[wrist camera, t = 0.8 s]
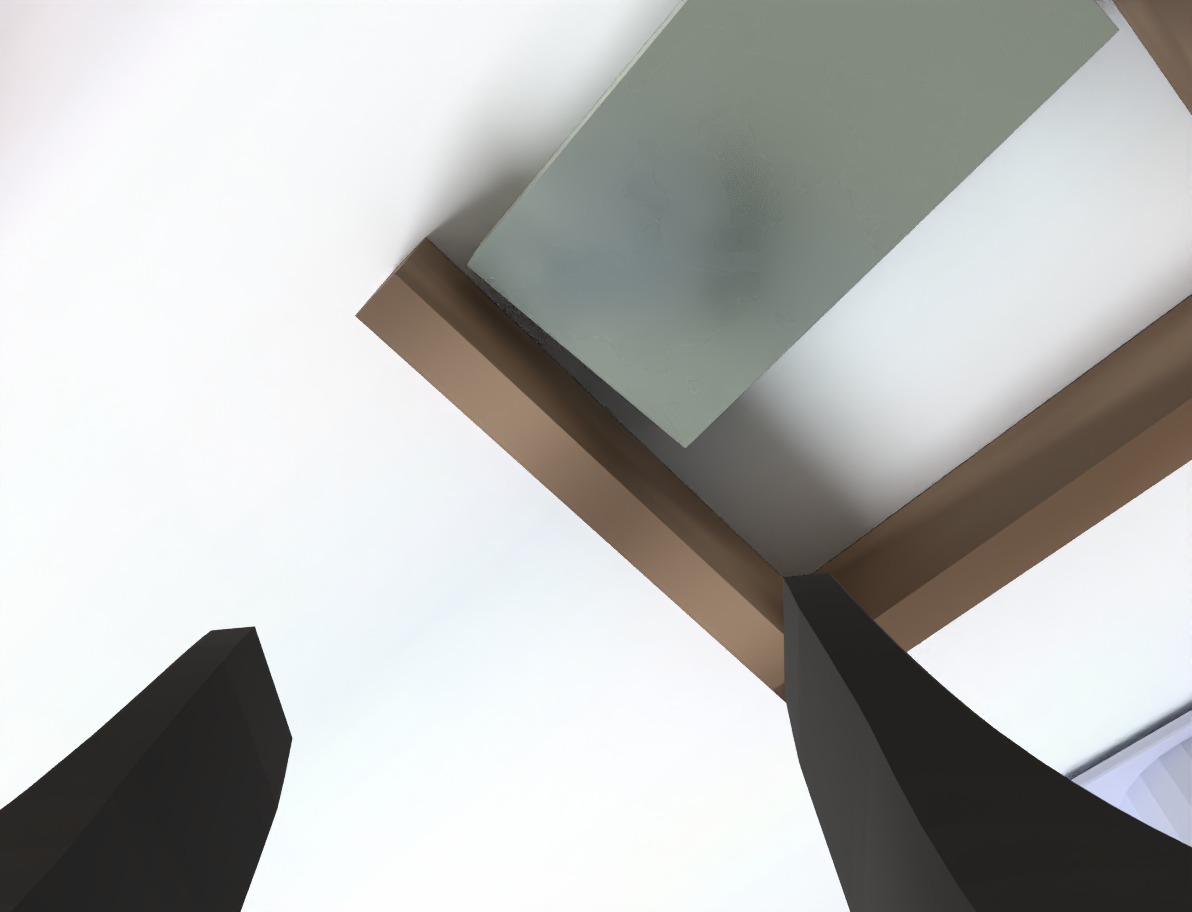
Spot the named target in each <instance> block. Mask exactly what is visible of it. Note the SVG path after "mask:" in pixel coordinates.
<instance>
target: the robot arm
mask: <svg viewBox="0 0 1192 912" xmlns="http://www.w3.org/2000/svg"><path fill="white" fill-rule="evenodd" d="M783 612H784V685H785V699H786V703H787V708H788V713H789V718H790V723H791V727H792V732H793V737H794V741H795V746H796V750H797V755H798V759H799V763H800V766H801V769H802V772H803V775H804V778H805V781H806V784H807V787H808V790H809V793H810V796H811V799H812V802H813V805H814V808H815V811H816V814H817V817H818V819H819V822H820V825H821V828H822V831H823V834H824V837H825V840H826V843H827V845H828V848H829V851H830V854H831V857H832V860H833V863H834V866H835V869H836V872H837V874H838V877H839V880H840V883H841V886H842V889H843V892H844V895H845V898H846V900H847V903H848V906H849V909H850V912H1192V710H1191V711H1189V712H1187V713H1185V714H1184V715H1182V716H1180V717H1179V718H1177V719H1175V720H1173V721H1172V722H1170V723H1168V724H1167V725H1165V726H1163V727H1161V728H1160V729H1158V730H1156V731H1154V732H1153V733H1151V734H1149V735H1148V736H1146V737H1144V738H1142V739H1141V740H1139V741H1137V742H1136V743H1134V744H1132V745H1130V746H1129V747H1127V748H1125V749H1123V750H1122V751H1120V752H1118V753H1117V754H1115V755H1113V756H1111V757H1110V758H1108V759H1106V760H1105V761H1103V762H1101V763H1099V764H1098V765H1096V766H1094V767H1093V768H1091V769H1089V770H1087V771H1086V772H1084V773H1082V774H1080V775H1079V776H1077V777H1075V778H1074V779H1072V780H1069V779H1068V778H1066V777H1065V776H1063V775H1061V774H1060V773H1058V772H1057V771H1055V770H1054V769H1052V768H1051V767H1049V766H1048V765H1046V764H1044V763H1043V762H1041V761H1040V760H1038V759H1037V758H1035V757H1034V756H1033V755H1031V754H1030V753H1028V752H1027V751H1026V750H1024V749H1023V748H1021V747H1020V746H1019V745H1017V744H1016V743H1014V742H1013V741H1011V740H1010V739H1009V738H1007V737H1006V736H1004V735H1003V734H1002V733H1000V732H999V731H997V730H996V729H995V728H993V727H992V726H991V725H990V724H988V723H987V722H986V721H985V720H983V719H982V718H981V717H979V716H978V715H977V714H976V713H974V712H973V711H972V710H971V709H970V708H968V707H967V706H966V705H965V704H964V703H963V702H961V701H960V700H959V699H958V698H957V697H955V696H954V695H953V694H952V693H951V692H949V691H948V690H947V689H946V688H945V687H944V686H943V685H941V684H940V683H939V682H938V681H937V680H936V679H935V678H933V677H932V676H931V675H930V674H929V673H928V672H927V671H926V670H925V669H924V668H923V667H922V666H921V665H919V664H918V663H917V662H916V661H915V660H914V659H913V658H912V657H911V656H910V655H909V654H908V653H907V652H906V651H905V650H903V649H902V648H901V647H900V646H899V645H898V644H897V643H896V642H895V641H894V640H893V639H892V638H891V637H890V636H889V635H888V634H887V633H886V632H885V631H884V630H883V629H882V628H881V627H880V626H879V625H878V624H877V623H876V622H875V621H874V619H873V618H872V617H871V616H870V615H869V614H868V613H867V612H866V611H865V610H864V609H863V608H862V607H861V606H860V605H859V604H858V603H857V601H856V600H855V599H854V598H853V597H852V596H851V595H850V594H849V593H848V592H847V591H846V589H845V588H844V587H843V586H842V585H841V584H840V583H839V582H838V581H837V580H836V579H835V578H834V577H833V576H832V575H831V574H829V573H824V574H813V575H803V576H792V577H783ZM291 743H292V736H291V733H290V730H289V727H288V724H287V721H286V718H285V715H284V712H283V709H282V706H281V703H280V700H279V697H278V694H277V691H276V688H275V685H274V682H273V679H272V676H271V673H270V670H269V667H268V664H267V662H266V659H265V656H264V653H263V650H262V647H261V644H260V641H259V638H258V635H257V632H256V629H255V626H254V627H244V628H233V629H222V630H211V631H210V632H209V633H207V634H206V635H205V636H204V637H202V638H201V639H200V640H199V641H198V642H196V643H195V644H194V645H193V646H192V647H191V648H189V649H188V650H187V651H186V652H185V653H184V654H183V655H181V656H180V657H179V658H178V659H177V660H176V661H175V662H174V663H172V664H171V665H170V666H169V667H168V668H167V669H166V670H165V671H164V672H163V673H161V674H160V675H159V676H158V677H157V678H156V679H155V680H154V681H153V682H152V683H150V684H149V685H148V686H147V687H146V688H145V689H144V690H143V691H142V692H140V693H139V694H138V695H137V696H136V697H135V698H134V699H133V700H132V701H130V702H129V703H128V704H127V705H126V706H125V707H124V708H123V709H121V710H120V711H119V712H118V713H117V714H116V715H115V716H114V717H112V718H111V719H110V720H109V721H108V722H107V723H106V724H105V725H104V726H102V727H101V728H100V729H99V730H98V731H97V732H96V733H94V734H93V735H92V736H91V737H90V738H89V739H87V740H86V741H85V742H84V743H82V744H81V745H80V746H79V747H78V748H76V749H75V750H74V751H73V752H72V753H70V754H69V755H68V756H67V757H66V758H64V759H63V760H62V761H61V762H60V763H58V764H57V765H56V766H55V767H54V768H52V769H51V770H50V771H49V772H48V773H46V774H45V775H44V776H43V777H41V778H40V779H39V780H38V781H37V782H35V783H34V784H33V785H32V786H31V787H29V788H28V789H27V790H26V791H24V792H23V793H22V794H20V795H19V796H18V797H17V798H15V799H14V800H13V801H11V802H10V803H9V804H7V805H6V806H5V807H3V808H2V809H1V810H0V912H241V909H242V906H243V903H244V901H245V898H246V895H247V892H248V890H249V887H250V884H251V881H252V879H253V876H254V873H255V870H256V868H257V865H258V862H259V859H260V857H261V854H262V851H263V848H264V845H265V842H266V840H267V837H268V834H269V831H270V828H271V826H272V823H273V820H274V817H275V814H276V811H277V808H278V804H279V800H280V795H281V791H282V787H283V782H284V778H285V773H286V768H287V763H288V758H289V753H290V748H291Z"/></svg>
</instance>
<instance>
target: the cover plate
mask: <svg viewBox="0 0 1192 912" xmlns="http://www.w3.org/2000/svg"><path fill="white" fill-rule="evenodd" d="M1118 31H1119V29H1118V28H1117V26H1116V25H1115V24H1114V23H1113V22H1112V20H1111V19H1110V18H1109V17H1108V16H1107V15H1106V13H1105V12H1104V11H1103V10H1102V9H1101V7H1100V6H1099V5H1098V4H1097V3H1096V1H1095V0H681V2H680V3H679V4H678V5H677V6H676V8H675V9H674V10H673V11H672V12H671V14H670V15H669V16H668V17H667V18H666V20H665V21H664V22H663V23H662V24H661V26H660V27H659V28H658V29H657V30H656V32H655V33H654V34H653V35H652V36H651V38H650V39H649V40H648V41H647V42H646V44H645V45H644V46H643V47H642V49H641V50H640V51H639V52H638V53H637V55H636V56H635V57H634V58H633V59H632V61H631V62H630V63H629V64H628V65H627V67H626V68H625V69H624V70H623V71H622V73H621V74H620V75H619V76H618V77H617V79H616V80H615V81H614V82H613V83H612V85H611V86H610V87H609V88H608V89H607V91H606V92H605V93H604V94H603V95H602V97H601V98H600V99H599V100H598V102H597V103H596V104H595V105H594V106H593V108H592V109H591V110H590V111H589V112H588V114H587V115H586V116H585V117H584V118H583V120H582V121H581V122H580V123H579V124H578V126H577V127H576V128H575V129H574V130H573V132H572V133H571V134H570V135H569V136H568V138H567V139H566V140H565V141H564V142H563V144H562V145H561V146H560V147H559V148H558V150H557V151H556V152H555V153H554V155H553V156H552V157H551V158H550V159H549V161H548V162H547V163H546V164H545V165H544V167H543V168H542V169H541V170H540V171H539V173H538V174H537V175H536V176H535V177H534V179H533V180H532V181H531V182H530V183H529V185H528V186H527V187H526V188H525V189H524V191H523V192H522V193H521V194H520V195H519V197H518V198H517V199H516V200H515V201H514V203H513V204H512V205H511V206H510V208H509V209H508V210H507V211H506V212H505V214H504V215H503V216H502V217H501V218H500V220H499V221H498V222H497V223H496V224H495V226H494V227H493V228H492V229H491V230H490V232H489V233H488V234H487V235H486V236H485V238H484V239H483V240H482V241H481V243H480V244H479V246H478V248H477V249H476V251H475V253H474V254H473V256H472V257H471V259H470V261H469V262H468V264H467V265H466V266H468V267H469V268H470V269H471V270H472V271H474V272H475V273H476V274H477V275H478V276H480V277H481V278H482V279H483V280H484V281H485V282H487V283H488V284H489V285H490V286H491V287H493V288H494V289H495V290H496V291H497V292H499V293H500V294H501V295H502V296H503V297H505V298H506V299H507V300H508V301H509V302H511V303H512V304H513V305H514V306H515V307H517V308H518V309H519V310H520V311H521V312H523V313H524V314H525V315H526V316H527V317H528V318H530V319H531V320H532V321H533V322H534V323H536V324H537V325H538V326H539V327H540V328H542V329H543V330H544V331H545V332H546V333H548V334H549V335H550V336H551V337H552V338H554V339H555V340H556V341H557V342H558V343H560V344H561V345H562V346H563V347H564V348H566V349H567V350H568V351H569V352H570V353H572V354H573V355H574V356H575V357H576V358H577V359H579V360H580V361H581V362H582V363H583V364H585V365H586V366H587V367H588V368H589V369H591V370H592V371H593V372H594V373H595V374H597V375H598V376H599V377H600V378H601V379H603V380H604V381H605V382H606V383H607V384H609V385H610V386H611V387H612V388H613V389H615V390H616V391H617V392H618V393H619V394H621V395H622V396H623V397H624V398H625V399H626V400H628V401H629V402H630V403H631V404H632V405H634V406H635V407H636V408H637V409H638V410H640V411H641V412H642V413H643V414H644V415H646V416H647V417H648V418H649V419H650V420H652V421H653V422H654V423H655V424H656V425H658V426H659V427H660V428H661V429H662V430H664V431H665V432H666V433H667V434H668V435H669V436H671V437H672V438H673V439H674V440H675V441H677V442H678V443H679V444H680V445H681V446H683V447H684V448H687V447H688V446H689V445H690V444H691V443H692V442H693V441H694V440H695V439H696V438H697V437H698V436H699V435H700V434H701V433H702V432H703V431H704V430H705V429H706V428H707V427H708V426H709V425H710V424H711V423H712V422H713V421H714V420H716V419H717V418H718V417H719V416H720V415H721V414H722V413H723V412H724V411H725V410H726V409H727V408H728V407H729V406H730V405H731V404H732V403H733V402H734V401H735V400H736V399H737V398H738V397H739V396H740V395H741V394H742V393H744V392H745V391H746V390H747V389H748V388H749V387H750V386H751V385H752V384H753V383H754V382H755V381H756V380H757V379H758V378H759V377H760V376H761V375H762V374H763V373H764V372H765V371H766V370H767V369H768V368H769V367H770V366H772V365H773V364H774V363H775V362H776V361H777V360H778V359H779V358H780V357H781V356H782V355H783V354H784V353H785V352H786V351H787V350H788V349H789V348H790V347H791V346H792V345H793V344H794V343H795V342H796V341H797V340H798V339H800V338H801V337H802V336H803V335H804V334H805V333H806V332H807V331H808V330H809V329H810V328H811V327H812V326H813V325H814V324H815V323H816V322H817V321H818V320H819V319H820V318H821V317H822V316H823V315H824V314H825V313H826V312H827V311H829V310H830V309H831V308H832V307H833V306H834V305H835V304H836V303H837V302H838V301H839V300H840V299H841V298H842V297H843V296H844V295H845V294H846V293H847V292H848V291H849V290H850V289H851V288H852V287H853V286H854V285H855V284H857V283H858V282H859V281H860V280H861V279H862V278H863V277H864V276H865V275H866V274H867V273H868V272H869V271H870V270H871V269H872V268H873V267H874V266H875V265H876V264H877V263H878V262H879V261H880V260H881V259H882V258H883V257H885V256H886V255H887V254H888V253H889V252H890V251H891V250H892V249H893V248H894V247H895V246H896V245H897V244H898V243H899V242H900V241H901V240H902V239H903V238H904V237H905V236H906V235H907V234H908V233H909V232H910V231H911V230H912V229H914V228H915V227H916V226H917V225H918V224H919V223H920V222H921V221H922V220H923V219H924V218H925V217H926V216H927V215H928V214H929V213H930V212H931V211H932V210H933V209H934V208H935V207H936V206H937V205H938V204H939V203H940V202H942V201H943V200H944V199H945V198H946V197H947V196H948V195H949V194H950V193H951V192H952V191H953V190H954V189H955V188H956V187H957V186H958V185H959V184H960V183H961V182H962V181H963V180H964V179H965V178H966V177H967V176H968V175H970V174H971V173H972V172H973V171H974V170H975V169H976V168H977V167H978V166H979V165H980V164H981V163H982V162H983V161H984V160H985V159H986V158H987V157H988V156H989V155H990V154H991V153H992V152H993V151H994V150H995V149H996V148H998V147H999V146H1000V145H1001V144H1002V143H1003V142H1004V141H1005V140H1006V139H1007V138H1008V137H1009V136H1010V135H1011V134H1012V133H1013V132H1014V131H1015V130H1016V129H1017V128H1018V127H1019V126H1020V125H1021V124H1022V123H1023V122H1024V121H1025V120H1027V119H1028V118H1029V117H1030V116H1031V115H1032V114H1033V113H1034V112H1035V111H1036V110H1037V109H1038V108H1039V107H1040V106H1041V105H1042V104H1043V103H1044V102H1045V101H1046V100H1047V99H1048V98H1049V97H1050V96H1051V95H1052V94H1053V93H1055V92H1056V91H1057V90H1058V89H1059V88H1060V87H1061V86H1062V85H1063V84H1064V83H1065V82H1066V81H1067V80H1068V79H1069V78H1070V77H1071V76H1072V75H1073V74H1074V73H1075V72H1076V71H1077V70H1078V69H1079V68H1080V67H1081V66H1083V65H1084V64H1085V63H1086V62H1087V61H1088V60H1089V59H1090V58H1091V57H1092V56H1093V55H1094V54H1095V53H1096V52H1097V51H1098V50H1099V49H1100V48H1101V47H1102V46H1103V45H1104V44H1105V43H1106V42H1107V41H1108V40H1109V39H1110V38H1112V37H1113V36H1114V35H1115V34H1116V33H1117V32H1118Z"/></svg>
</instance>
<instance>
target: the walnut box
mask: <svg viewBox="0 0 1192 912" xmlns="http://www.w3.org/2000/svg"><path fill="white" fill-rule="evenodd" d="M1113 2H1114V3H1115V4H1116V6H1117V7H1118V9H1119V10H1120V12H1121V13H1122V15H1123V16H1124V18H1125V19H1126V20H1127V22H1128V23H1129V25H1130V26H1131V28H1132V29H1133V31H1134V32H1135V33H1136V35H1137V36H1138V38H1139V39H1140V41H1141V42H1142V44H1143V45H1144V46H1145V48H1146V49H1147V51H1148V52H1149V54H1150V55H1151V57H1152V58H1153V60H1154V61H1155V62H1156V64H1157V65H1158V67H1159V68H1160V70H1161V71H1162V73H1163V74H1164V75H1165V77H1166V78H1167V80H1168V81H1169V83H1170V84H1171V86H1172V87H1173V88H1174V90H1175V91H1176V93H1177V94H1178V96H1179V97H1180V99H1181V100H1182V101H1183V103H1184V104H1185V106H1186V107H1187V109H1188V110H1189V112H1190V113H1191V115H1192V0H1113ZM355 316H356V317H357V318H358V319H359V320H360V321H362V322H363V323H364V324H365V325H366V326H367V327H368V328H369V329H370V330H372V331H373V332H374V333H375V334H376V335H377V336H378V337H379V338H380V339H382V340H383V341H384V342H385V343H386V344H387V345H388V346H389V347H390V348H392V349H393V350H394V351H395V352H396V353H397V354H398V355H399V356H400V357H402V358H403V359H404V360H405V361H406V362H407V363H408V364H409V365H411V366H412V367H413V368H414V369H415V370H416V371H417V372H418V373H419V374H421V375H422V376H423V377H424V378H425V379H426V380H427V381H428V382H429V383H431V384H432V385H433V386H434V387H435V388H436V389H437V390H438V391H439V392H441V393H442V394H443V395H444V396H445V397H446V398H447V399H448V400H450V401H451V402H452V403H453V404H454V405H455V406H456V407H457V408H458V409H460V410H461V411H462V412H463V413H464V414H465V415H466V416H467V417H468V418H470V419H471V420H472V421H473V422H474V423H475V424H476V425H477V426H478V427H480V428H481V429H482V430H483V431H484V432H485V433H486V434H487V435H489V436H490V437H491V438H492V439H493V440H494V441H495V442H496V443H497V444H499V445H500V446H501V447H502V448H503V449H504V450H505V451H506V452H507V453H509V454H510V455H511V456H512V457H513V458H514V459H515V460H516V461H517V462H519V463H520V464H521V465H522V466H523V467H524V468H525V469H526V470H527V471H529V472H530V473H531V474H532V475H533V476H534V477H535V478H536V479H538V480H539V481H540V482H541V483H542V484H543V485H544V486H545V487H546V488H548V489H549V490H550V491H551V492H552V493H553V494H554V495H555V496H556V497H558V498H559V499H560V500H561V501H562V502H563V503H564V504H565V505H566V506H568V507H569V508H570V509H571V510H572V511H573V512H574V513H575V514H577V515H578V516H579V517H580V518H581V519H582V520H583V521H584V522H585V523H587V524H588V525H589V526H590V527H591V528H592V529H593V530H594V531H595V532H597V533H598V534H599V535H600V536H601V537H602V538H603V539H604V540H605V541H607V542H608V543H609V544H610V545H611V546H612V547H613V548H614V549H615V550H617V551H618V552H619V553H620V554H621V555H622V556H623V557H624V558H626V559H627V560H628V561H629V562H630V563H631V564H632V565H633V566H634V567H636V568H637V569H638V570H639V571H640V572H641V573H642V574H643V575H644V576H646V577H647V578H648V579H649V580H650V581H651V582H652V583H653V584H654V585H656V586H657V587H658V588H659V589H660V590H661V591H662V592H663V593H665V594H666V595H667V596H668V597H669V598H670V599H671V600H672V601H673V602H675V603H676V604H677V605H678V606H679V607H680V608H681V609H682V610H683V611H685V612H686V613H687V614H688V615H689V616H690V617H691V618H692V619H693V620H695V621H696V622H697V623H698V624H699V625H700V626H701V627H702V628H703V629H705V630H706V631H707V632H708V633H709V634H710V635H711V636H712V637H714V638H715V639H716V640H717V641H718V642H719V643H720V644H721V645H722V646H724V647H725V648H726V649H727V650H728V651H729V652H730V653H731V654H732V655H734V656H735V657H736V658H737V659H738V660H739V661H740V662H741V663H742V664H744V665H745V666H746V667H747V668H748V669H749V670H750V671H751V672H753V673H754V674H755V675H756V676H757V677H758V678H759V679H760V680H761V681H763V682H764V683H765V684H766V685H767V686H768V687H769V688H770V689H771V690H773V691H774V692H775V693H776V694H777V695H778V696H779V697H780V698H781V699H783V700H784V701H785V702H786V699H785V685H784V612H783V578H782V577H781V576H780V575H779V574H778V573H777V572H776V571H775V570H774V569H773V568H772V567H771V566H770V565H769V564H768V563H767V562H766V561H765V560H764V559H763V558H761V557H760V556H759V555H758V554H757V553H756V552H755V551H754V550H753V549H752V548H751V547H750V546H749V545H748V544H747V543H746V542H745V541H744V540H743V539H742V538H741V537H739V536H738V535H737V534H736V533H735V532H734V531H733V530H732V529H731V528H730V527H729V526H728V525H727V524H726V523H725V522H724V521H723V520H722V519H721V518H720V517H719V516H717V515H716V514H715V513H714V512H713V511H712V510H711V509H710V508H709V507H708V506H707V505H706V504H705V503H704V502H703V501H702V500H701V499H700V498H699V497H698V496H697V495H695V494H694V493H693V492H692V491H691V490H690V489H689V488H688V487H687V486H686V485H685V484H684V483H683V482H682V481H681V480H680V479H679V478H678V477H677V476H676V475H675V474H673V473H672V472H671V471H670V470H669V469H668V468H667V467H666V466H665V465H664V464H663V463H662V462H661V461H660V460H659V459H658V458H657V457H656V456H655V455H654V454H653V453H651V452H650V451H649V450H648V449H647V448H646V447H645V446H644V445H643V444H642V443H641V442H640V441H639V440H638V439H637V438H636V437H635V436H634V435H633V434H632V433H631V432H629V431H628V430H627V429H626V428H625V427H624V426H623V425H622V424H621V423H620V422H619V421H618V420H617V419H616V418H615V417H614V416H613V415H612V414H611V413H610V412H609V411H607V410H606V409H605V408H604V407H603V406H602V405H601V404H600V403H599V402H598V401H597V400H596V399H595V398H594V397H593V396H592V395H591V394H590V393H589V392H588V391H587V390H585V389H584V388H583V387H582V386H581V385H580V384H579V383H578V382H577V381H576V380H575V379H574V378H573V377H572V376H571V375H570V374H569V373H568V372H567V371H566V370H565V369H563V368H562V367H561V366H560V365H559V364H558V363H557V362H556V361H555V360H554V359H553V358H552V357H551V356H550V355H549V354H548V353H547V352H546V351H545V350H544V349H543V348H541V347H540V346H539V345H538V344H537V343H536V342H535V341H534V340H533V339H532V338H531V337H530V336H529V335H528V334H527V333H526V332H525V331H524V330H523V329H522V328H521V327H519V326H518V325H517V324H516V323H515V322H514V321H513V320H512V319H511V318H510V317H509V316H508V315H507V314H506V313H505V312H504V311H503V310H502V309H501V308H500V307H499V306H497V305H496V304H495V303H494V302H493V301H492V300H491V299H490V298H489V297H488V296H487V295H486V294H485V293H484V292H483V291H482V290H481V289H480V288H479V287H478V286H477V285H475V284H474V283H473V282H472V281H471V280H470V279H469V278H468V277H467V276H466V275H465V274H464V273H463V272H462V271H461V270H460V269H459V268H458V267H457V266H456V265H455V264H453V263H452V262H451V261H450V260H449V259H448V258H447V257H446V256H445V255H444V254H443V253H442V252H441V251H440V250H439V249H438V248H437V247H436V246H435V245H434V244H433V243H432V242H430V241H429V240H428V239H427V238H426V237H425V238H424V239H423V241H422V242H421V243H420V244H419V245H418V246H417V247H416V248H415V249H414V250H413V251H412V252H411V253H410V254H409V255H408V256H407V258H406V259H405V260H404V261H403V262H402V263H401V264H400V265H399V266H398V267H397V268H396V269H395V270H394V271H393V272H392V274H391V275H390V276H389V277H388V278H387V279H386V280H385V282H384V283H383V284H382V285H381V286H380V287H379V289H378V290H377V291H376V292H375V293H374V294H373V296H372V297H371V298H370V299H369V300H368V301H367V303H366V304H365V305H364V306H363V307H362V308H361V310H360V311H359V312H358V313H357V314H356V315H355ZM1190 460H1192V295H1191V296H1190V297H1188V298H1187V299H1186V300H1184V301H1183V302H1181V303H1180V304H1179V305H1177V306H1176V307H1175V308H1173V309H1172V310H1171V311H1169V312H1168V313H1167V314H1165V315H1164V316H1162V317H1161V318H1160V319H1158V320H1157V321H1156V322H1154V323H1153V324H1152V325H1150V326H1149V327H1148V328H1146V329H1145V330H1143V331H1142V332H1141V333H1139V334H1138V335H1137V336H1135V337H1134V338H1133V339H1131V340H1130V341H1129V342H1127V343H1126V344H1124V345H1123V346H1122V347H1120V348H1119V349H1118V350H1116V351H1115V352H1114V353H1112V354H1111V355H1110V356H1108V357H1107V358H1105V359H1104V360H1103V361H1101V362H1100V363H1099V364H1097V365H1096V366H1095V367H1093V368H1092V369H1090V370H1089V371H1088V372H1086V373H1085V374H1084V375H1082V376H1081V377H1080V378H1078V379H1077V380H1076V381H1074V382H1073V383H1071V384H1070V385H1069V386H1067V387H1066V388H1065V389H1063V390H1062V391H1061V392H1059V393H1058V394H1057V395H1055V396H1054V397H1052V398H1051V399H1050V400H1048V401H1047V402H1046V403H1044V404H1043V405H1042V406H1040V407H1039V408H1038V409H1036V410H1035V411H1033V412H1032V413H1031V414H1029V415H1028V416H1027V417H1025V418H1024V419H1023V420H1021V421H1020V422H1019V423H1017V424H1016V425H1014V426H1013V427H1012V428H1010V429H1009V430H1008V431H1006V432H1005V433H1004V434H1002V435H1001V436H1000V437H998V438H997V439H995V440H994V441H993V442H991V443H990V444H989V445H987V446H986V447H985V448H983V449H982V450H980V451H979V452H978V453H976V454H975V455H974V456H972V457H971V458H970V459H968V460H967V461H966V462H964V463H963V464H961V465H960V466H959V467H957V468H956V469H955V470H953V471H952V472H951V473H949V474H948V475H947V476H945V477H944V478H942V479H941V480H940V481H938V482H937V483H936V484H934V485H933V486H932V487H930V488H929V489H928V490H926V491H925V492H923V493H922V494H921V495H919V496H918V497H917V498H915V499H914V500H913V501H911V502H910V503H909V504H907V505H906V506H904V507H903V508H902V509H900V510H899V511H898V512H896V513H895V514H894V515H892V516H891V517H890V518H888V519H887V520H885V521H884V522H883V523H881V524H880V525H879V526H877V527H876V528H875V529H873V530H872V531H870V532H869V533H868V534H866V535H865V536H864V537H862V538H861V539H860V540H858V541H857V542H856V543H854V544H853V545H851V546H850V547H849V548H847V549H846V550H845V551H843V552H842V553H841V554H839V555H838V556H837V557H835V558H834V559H832V560H831V561H830V562H828V563H827V564H826V565H824V566H823V567H822V568H820V569H819V570H818V571H816V572H815V573H813V574H824V573H829V574H831V575H832V576H833V577H834V578H835V579H836V580H837V581H838V582H839V583H840V584H841V585H842V586H843V587H844V588H845V589H846V591H847V592H848V593H849V594H850V595H851V596H852V597H853V598H854V599H855V600H856V601H857V603H858V604H859V605H860V606H861V607H862V608H863V609H864V610H865V611H866V612H867V613H868V614H869V615H870V616H871V617H872V618H873V619H874V621H875V622H876V623H877V624H878V625H879V626H880V627H881V628H882V629H883V630H884V631H885V632H886V633H887V634H888V635H889V636H890V637H891V638H892V639H893V640H894V641H895V642H896V643H897V644H898V645H899V646H900V647H901V648H902V649H903V650H905V651H906V652H907V651H909V650H910V649H912V648H913V647H915V646H916V645H918V644H919V643H921V642H922V641H924V640H925V639H927V638H928V637H930V636H931V635H933V634H934V633H935V632H937V631H938V630H940V629H941V628H943V627H944V626H946V625H947V624H949V623H950V622H952V621H953V620H955V619H956V618H958V617H959V616H961V615H962V614H964V613H965V612H967V611H968V610H970V609H971V608H973V607H974V606H975V605H977V604H978V603H980V602H981V601H983V600H984V599H986V598H987V597H989V596H990V595H992V594H993V593H995V592H996V591H998V590H999V589H1001V588H1002V587H1004V586H1005V585H1007V584H1008V583H1010V582H1011V581H1013V580H1014V579H1016V578H1017V577H1018V576H1020V575H1021V574H1023V573H1024V572H1026V571H1027V570H1029V569H1030V568H1032V567H1033V566H1035V565H1036V564H1038V563H1039V562H1041V561H1042V560H1044V559H1045V558H1047V557H1048V556H1050V555H1051V554H1053V553H1054V552H1056V551H1057V550H1058V549H1060V548H1061V547H1063V546H1064V545H1066V544H1067V543H1069V542H1070V541H1072V540H1073V539H1075V538H1076V537H1078V536H1079V535H1081V534H1082V533H1084V532H1085V531H1087V530H1088V529H1090V528H1091V527H1093V526H1094V525H1096V524H1097V523H1099V522H1100V521H1101V520H1103V519H1104V518H1106V517H1107V516H1109V515H1110V514H1112V513H1113V512H1115V511H1116V510H1118V509H1119V508H1121V507H1122V506H1124V505H1125V504H1127V503H1128V502H1130V501H1131V500H1133V499H1134V498H1136V497H1137V496H1139V495H1140V494H1141V493H1143V492H1144V491H1146V490H1147V489H1149V488H1150V487H1152V486H1153V485H1155V484H1156V483H1158V482H1159V481H1161V480H1162V479H1164V478H1165V477H1167V476H1168V475H1170V474H1171V473H1173V472H1174V471H1176V470H1177V469H1179V468H1180V467H1182V466H1183V465H1184V464H1186V463H1187V462H1189V461H1190ZM813 574H812V575H813Z"/></svg>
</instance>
